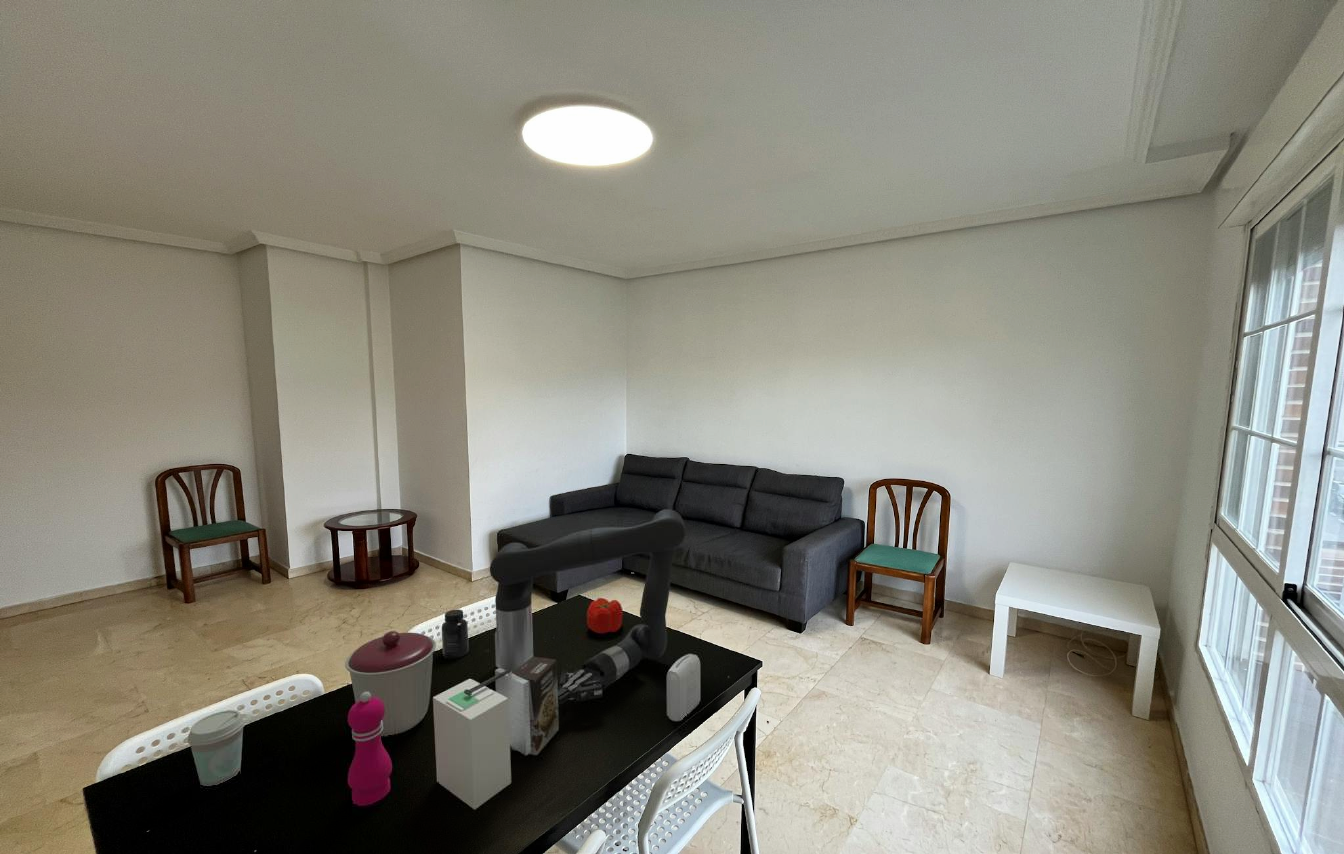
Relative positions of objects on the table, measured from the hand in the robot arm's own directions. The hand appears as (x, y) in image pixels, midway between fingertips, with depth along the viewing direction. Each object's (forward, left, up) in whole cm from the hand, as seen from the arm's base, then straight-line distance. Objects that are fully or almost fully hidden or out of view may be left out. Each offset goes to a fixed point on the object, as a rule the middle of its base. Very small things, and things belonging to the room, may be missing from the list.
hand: (553, 701), depth 121 cm
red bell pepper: (-23, +42, -6) cm, 48 cm away
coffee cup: (-41, -48, -6) cm, 64 cm away
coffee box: (0, -5, -6) cm, 8 cm away
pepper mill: (-13, -33, -6) cm, 36 cm away
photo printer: (+20, +22, -6) cm, 30 cm away
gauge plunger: (0, -15, -4) cm, 16 cm away
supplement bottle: (-48, +7, -6) cm, 49 cm away
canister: (-31, -19, -6) cm, 37 cm away
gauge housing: (0, -20, -6) cm, 21 cm away
